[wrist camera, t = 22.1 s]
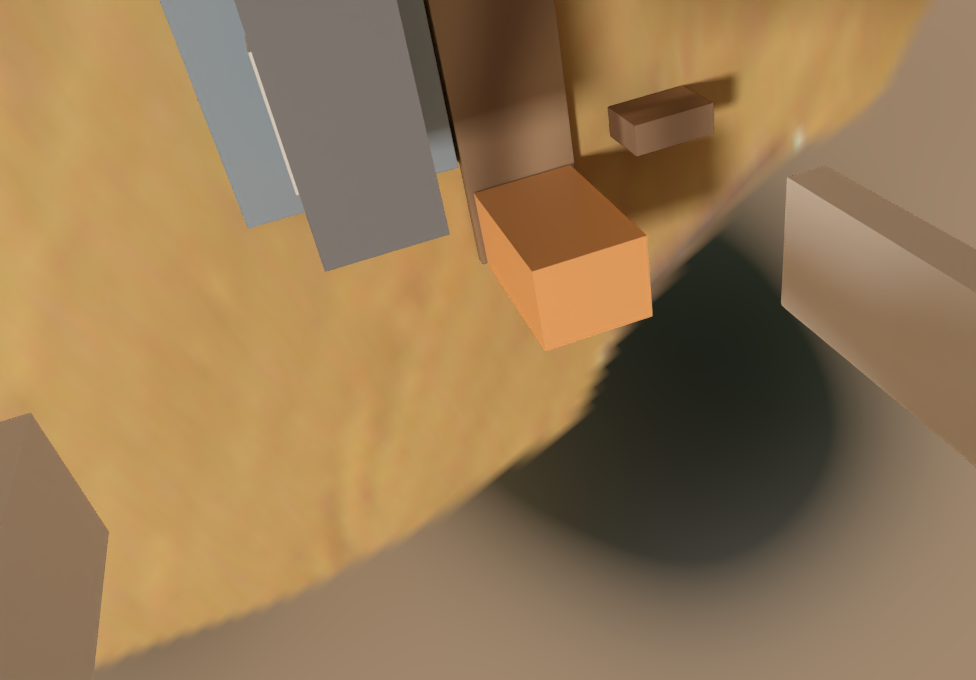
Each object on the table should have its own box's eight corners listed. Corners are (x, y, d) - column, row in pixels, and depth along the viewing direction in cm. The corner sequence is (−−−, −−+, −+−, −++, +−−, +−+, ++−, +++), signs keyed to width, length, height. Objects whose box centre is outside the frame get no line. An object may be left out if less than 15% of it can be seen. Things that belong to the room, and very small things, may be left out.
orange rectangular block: (488, 264, 42) (545, 351, 35) (473, 193, 39) (532, 271, 33) (578, 236, 42) (652, 316, 36) (570, 164, 40) (646, 235, 33)
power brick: (292, 170, 36) (320, 273, 28) (218, -48, 31) (228, 0, 23) (393, 142, 37) (449, 234, 29) (337, -77, 32) (387, -40, 24)
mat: (246, 221, 38) (248, 228, 37) (126, -92, 30) (124, -90, 29) (453, 161, 39) (458, 167, 38) (387, -151, 32) (391, -151, 31)
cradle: (479, 259, 42) (496, 286, 40) (363, -299, 29) (379, -309, 27) (686, 195, 44) (715, 217, 42) (666, -359, 31) (706, -374, 28)
